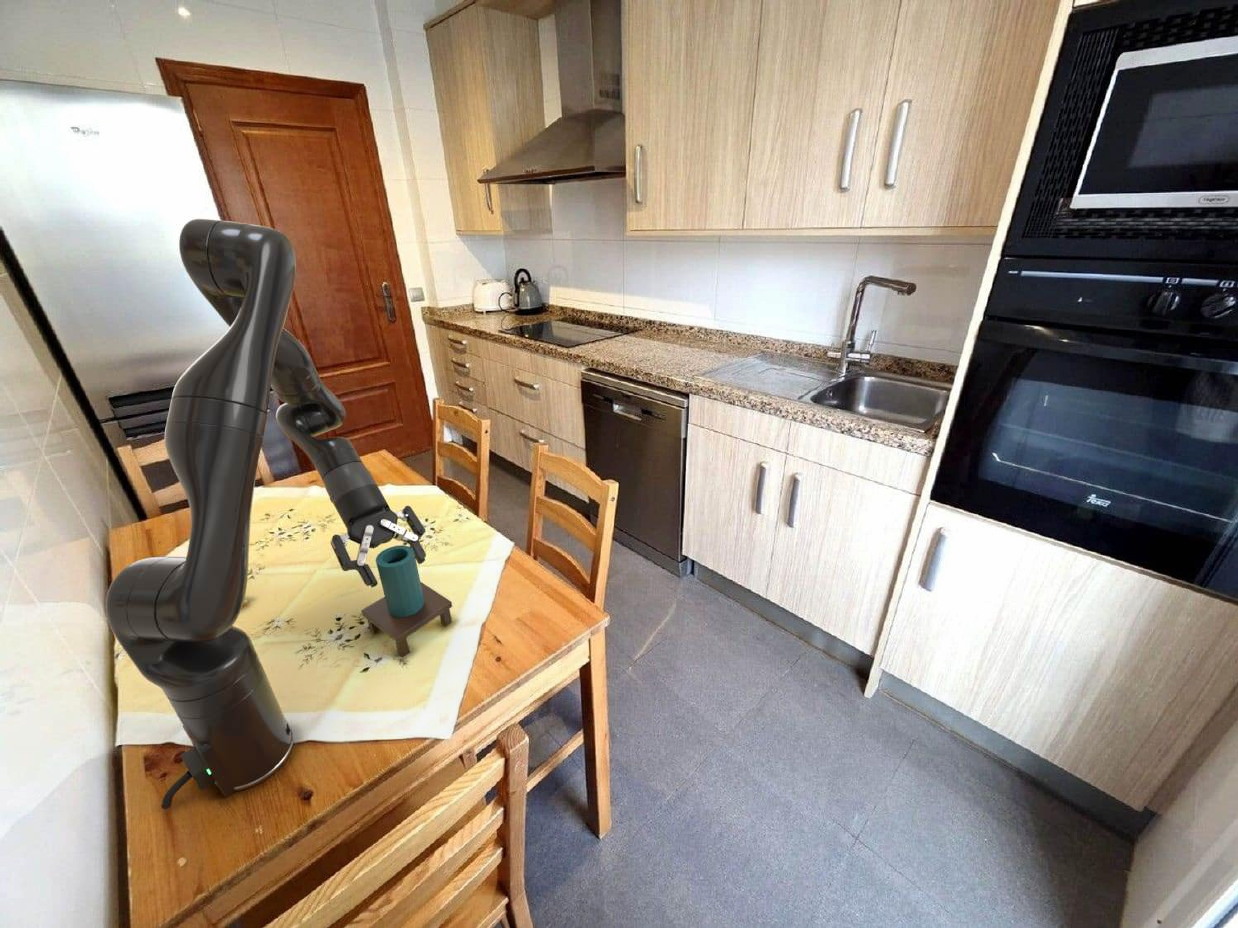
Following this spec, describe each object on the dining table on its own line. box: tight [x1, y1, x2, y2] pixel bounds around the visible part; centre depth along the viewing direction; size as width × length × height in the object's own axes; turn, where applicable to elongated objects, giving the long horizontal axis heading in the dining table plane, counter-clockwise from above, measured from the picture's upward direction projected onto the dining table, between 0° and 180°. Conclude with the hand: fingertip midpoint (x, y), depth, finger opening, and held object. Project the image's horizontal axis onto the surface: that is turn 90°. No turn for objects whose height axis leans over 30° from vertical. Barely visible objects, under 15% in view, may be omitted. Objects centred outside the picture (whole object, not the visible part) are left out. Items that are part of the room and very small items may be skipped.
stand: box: [360, 581, 453, 658], centre depth 91 cm, size 11×11×5 cm
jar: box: [375, 545, 424, 617], centre depth 88 cm, size 6×6×11 cm
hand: (399, 573), depth 87 cm, fingers open, 8 cm apart
